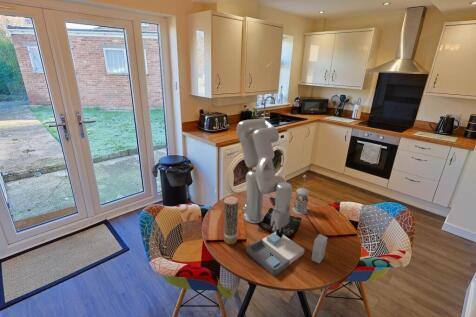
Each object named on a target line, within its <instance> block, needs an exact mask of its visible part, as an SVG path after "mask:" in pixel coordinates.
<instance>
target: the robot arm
mask: <svg viewBox="0 0 476 317" xmlns="http://www.w3.org/2000/svg"><path fill="white" fill-rule="evenodd" d="M236 125H237V126H236V136H237V140H239V141H238V142H239V143H240V146H241V149H242V155H243V159H244V163H245V165H246V167H247V168H250V169H251V168H255V169H251V170H249V171H248V172H247V173H246V174H245V182H246V204H245V205H244V207H242V209H243V210H244V213H243V216H242V217H243V220H244V221H245V222H247V223H250V224H259V223H261V222H264V218H265V216H264V214H263V201H264V195H268V194H271V193H275V196H274V209H273V210H272V214H271V218H270V226H271V227H272V231H273V232H276V235H277V236H279V237H280V238H282V237H283V235H284V230H285V227H286V226H287V225H288V224H289V223H290V220H291V203H292V200H291V196H292V194H293V193H292V192H293V186H292V184H291V183H289V182H287V181H286V180H285V178H284V177H283V176H281V175H276V172H275V167H274V163H273V159H274V157H275V151H274V148H273V145H272V144H273V143H277V142H278V141H279V139H280V134H279V131H278V129H277V128H276V126H274V125H273V124H272V123H270V121H268V120H267V119H265V118H254V119H246V120H241V121H239V122H238V124H236Z"/></svg>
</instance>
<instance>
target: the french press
mask: <svg viewBox="0 0 476 317" xmlns="http://www.w3.org/2000/svg"><path fill="white" fill-rule="evenodd" d="M302 177H303V178H304V180H303V182H305V181H306V180H305V179H306V178H307V175H305V174H304V175H303V176H302ZM304 187H305V185H303V187H300V188H297V189H296V192H295V193H292V194H291V203H293V207H292V211H293V212H294V213H295V214H297V215H306V214H308V213H309V210H308V204H309V198H308V195H309V194H310V190H308V189H306V188H304ZM294 196H295V200H294V201H293V197H294ZM307 210H308V211H307ZM307 212H308V213H307Z"/></svg>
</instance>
